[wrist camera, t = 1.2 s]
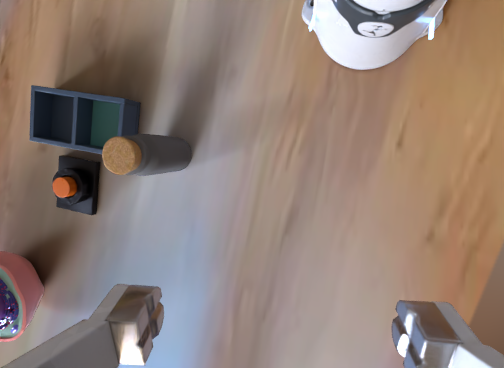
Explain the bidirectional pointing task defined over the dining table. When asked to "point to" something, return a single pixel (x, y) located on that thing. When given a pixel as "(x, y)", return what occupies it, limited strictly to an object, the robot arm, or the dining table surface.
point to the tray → (80, 118)
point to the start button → (64, 186)
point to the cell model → (17, 295)
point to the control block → (79, 184)
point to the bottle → (145, 154)
